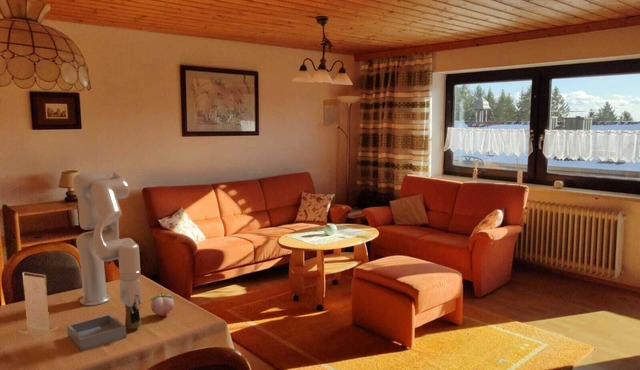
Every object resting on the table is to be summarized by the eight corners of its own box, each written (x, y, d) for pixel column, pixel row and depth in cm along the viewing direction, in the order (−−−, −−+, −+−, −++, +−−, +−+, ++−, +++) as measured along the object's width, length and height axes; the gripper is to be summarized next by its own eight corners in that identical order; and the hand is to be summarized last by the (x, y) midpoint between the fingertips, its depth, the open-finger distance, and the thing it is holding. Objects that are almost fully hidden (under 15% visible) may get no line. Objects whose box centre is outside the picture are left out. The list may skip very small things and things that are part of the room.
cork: (135, 329, 193) (134, 302, 191) (121, 327, 194) (120, 300, 192) (144, 322, 199) (142, 296, 197) (130, 321, 200) (128, 294, 198)
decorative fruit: (172, 310, 215) (171, 287, 213) (176, 317, 207) (175, 293, 206) (149, 314, 210) (148, 291, 209) (152, 321, 203) (151, 297, 202)
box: (68, 336, 190) (66, 325, 190) (111, 324, 201) (110, 313, 200) (81, 351, 178) (80, 339, 178) (126, 337, 189) (125, 326, 188)
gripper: (112, 271, 197) (115, 315, 200) (128, 283, 184) (131, 330, 187) (131, 267, 201) (134, 310, 205) (148, 278, 189) (151, 324, 192)
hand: (132, 319), depth 196 cm, fingers closed on cork, 4 cm apart
